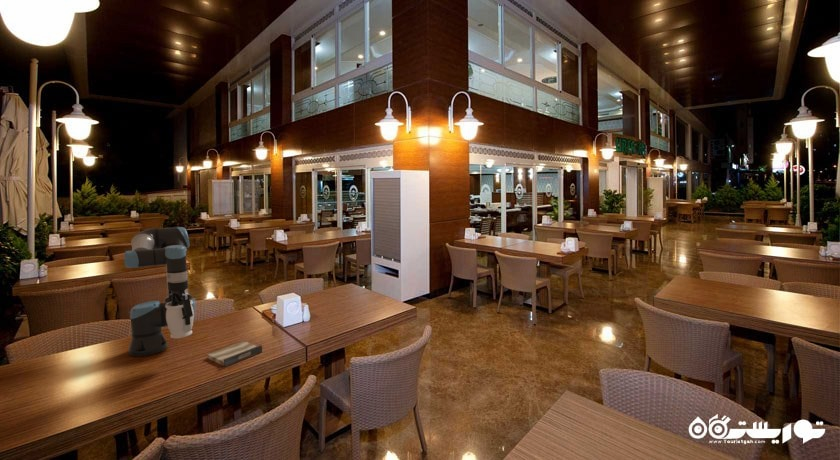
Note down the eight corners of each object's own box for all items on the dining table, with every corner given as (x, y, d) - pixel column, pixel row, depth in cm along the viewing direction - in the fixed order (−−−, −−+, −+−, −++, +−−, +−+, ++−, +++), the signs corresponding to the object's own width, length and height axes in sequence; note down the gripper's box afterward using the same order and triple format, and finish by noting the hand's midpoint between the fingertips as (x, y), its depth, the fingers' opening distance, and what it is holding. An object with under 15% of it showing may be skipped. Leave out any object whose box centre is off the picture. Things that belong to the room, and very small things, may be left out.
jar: (181, 340, 161) (179, 307, 159) (161, 338, 163) (158, 305, 161) (200, 331, 171) (198, 300, 169) (181, 329, 173) (179, 298, 171)
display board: (207, 358, 172) (207, 351, 171) (243, 344, 187) (243, 338, 186) (225, 366, 163) (225, 360, 163) (262, 352, 178) (262, 345, 178)
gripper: (156, 278, 167) (159, 325, 169) (181, 286, 154) (184, 337, 157) (174, 275, 173) (177, 320, 176) (199, 283, 161) (203, 331, 163)
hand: (181, 328), depth 166 cm, fingers closed on jar, 10 cm apart
